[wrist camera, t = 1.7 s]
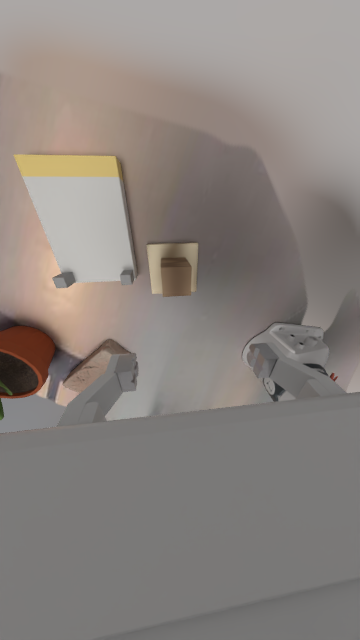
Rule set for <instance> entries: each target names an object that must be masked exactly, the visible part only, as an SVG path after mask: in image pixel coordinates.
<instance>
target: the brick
mask: <svg viewBox="0 0 360 640" xmlns="http://www.w3.org/2000/svg"><path fill="white" fill-rule="evenodd" d="M115 354H130V352H128V351H126V350H125V349H123V348H122V347H121V346H120V345H118V343H116V342H114V341H113V340H107V341H106V342H105V343H104V344H103V345H101V347H100V348H99V349H98V350H96V351H94V352H93V354H92V355H90V356H89V357H88V358H86V359H85V360H84V361H83V362H82V363H81V364H79V365H78V366H77V367H76V368H75V369H74V370H72V371H71V372H70V374H69V375H68V376H67V378H66V379H65V381H64V382H63V385H64V386H65V387H67V388H69V389H70V390H73V391H76V392H78V393H81V392H82V391H84V390H85V389H86V388H87V387H88V386H89V385H91V384H92V383H93V382H94V381H95V380H96V379H97V378H99V377H100V376H101V375H102V374H105V372H106V369H107V366H108V363H109V361H110V358H111V356H112V355H115Z"/></svg>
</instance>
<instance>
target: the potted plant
mask: <svg viewBox="0 0 360 640" xmlns="http://www.w3.org/2000/svg"><path fill="white" fill-rule="evenodd" d="M54 352H55V344H54V342H53V341H52V339H51V338H50V337H49V336H48V335H47V334H45V333H43V332H42V331H40V330H38V329H35V328H32V327H28V326H14V327H11V328H8V329H6V330H3V331H0V420H1V419H3V417H4V412H3V407H2V402H1V398H23V397H27V396H30V395H33V394H35V393H36V392H37V391H39V390H40V389H41V387H42V386H43V385H44V383H45V382H46V380H47V378H48V368H49V366H50V363H51V360H52V357H53V355H54Z"/></svg>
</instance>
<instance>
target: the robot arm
mask: <svg viewBox="0 0 360 640" xmlns="http://www.w3.org/2000/svg"><path fill="white" fill-rule="evenodd" d="M323 335H324V332H323V329H321V328H320V327H312V326H304V325H295V324H286V323H274V324H272V325H271V326H270V327H269V328H268V329H267V330H266V331H265V332H263V333H261V334H259V335H258V336H256V337H255V338H253V339H252V340H251V341H250V342H249V343H248V344H247V345H246V347H245V349H244V351H243V355H242V358H243V361H244V363H245V364H246V365H247V366H249V367H250V368H251V369H252V370H253V372H254V373H255V375H256V376H257V378H260V379H261V381H262V382H263V384H264V386H265V388H266V390H267V392H268V393H269V395H270V396H271V398H272V399H273V401H274V402H268V403H260V404H251V405H243V406H234V407H226V408H217V409H208V410H199V411H191V412H182V413H173V414H165V415H156V416H147V417H139V418H130V419H121V420H113V421H106V418H105V415H106V414H107V413H108V411H109V410H110V409H111V407H112V406H113V405H114V403H115V402H116V401H117V400H118V398H119V397H120V396H121V394H122V392H128V391H136V386H137V379H136V378H137V376H138V362H137V361H136V358H137V357H136V354H135V353H130V354H115V355H112V356H111V358H110V361H109V363H108V366H107V369H106V372H105V374H102V375H101V376H100V377H99V378H97V379H96V380H95V381H94V382H93V383H92V384H91V385H89V386H88V387H87V388H86V389H85V390H84V391H82V392H81V393H80V394H79V395H78V396H77V397H76V398H74V399H73V400H72V401H71V402H70V403H69V404H68V405H67V407H66V409H65V411H64V413H63V415H62V417H61V419H60V421H59V423H58V425H57V427H52V428H43V429H35V430H26V431H17V432H9V433H0V640H360V392H355V393H346V392H345V391H344V390H343V389H342V388H341V387H340V386H339V385H337V384H336V383H335V380H336V379H337V378H338V376H336V377H335V378H334V373H332V374H331V376H330V377H329V376H328V374H327V373H326V371H325V369H324V368H325V365H326V362H327V360H328V357H329V348H328V347H327V345H326V344H325V343H324V342H323V341H322V340H323ZM333 378H334V379H333Z"/></svg>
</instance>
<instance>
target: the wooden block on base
mask: <svg viewBox="0 0 360 640" xmlns="http://www.w3.org/2000/svg"><path fill="white" fill-rule="evenodd" d="M147 253H148V261H149V270H150V279H151V288H152V294H159V293H163V297H169V296H187V295H191V292H196V284H197V260H198V243H165V244H147Z"/></svg>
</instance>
